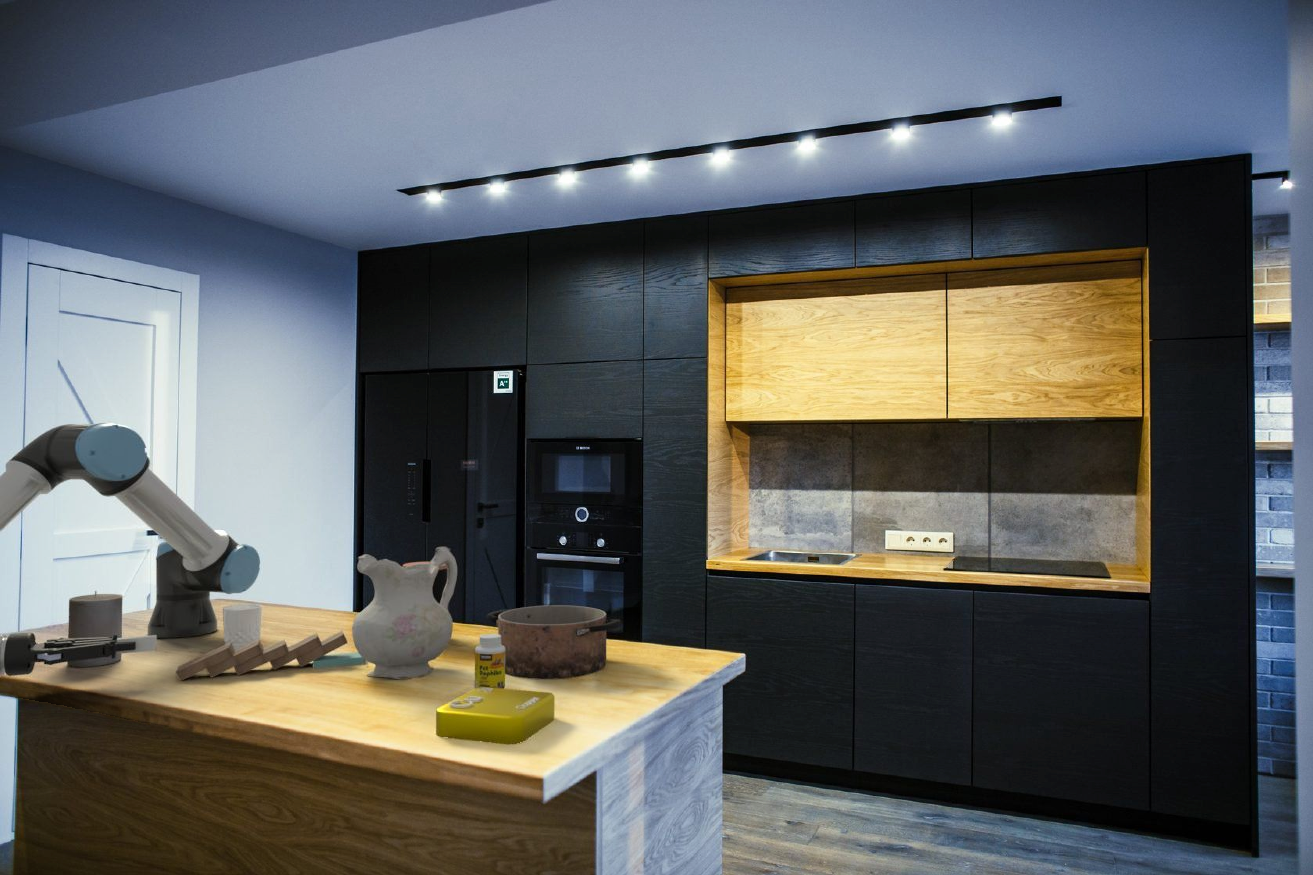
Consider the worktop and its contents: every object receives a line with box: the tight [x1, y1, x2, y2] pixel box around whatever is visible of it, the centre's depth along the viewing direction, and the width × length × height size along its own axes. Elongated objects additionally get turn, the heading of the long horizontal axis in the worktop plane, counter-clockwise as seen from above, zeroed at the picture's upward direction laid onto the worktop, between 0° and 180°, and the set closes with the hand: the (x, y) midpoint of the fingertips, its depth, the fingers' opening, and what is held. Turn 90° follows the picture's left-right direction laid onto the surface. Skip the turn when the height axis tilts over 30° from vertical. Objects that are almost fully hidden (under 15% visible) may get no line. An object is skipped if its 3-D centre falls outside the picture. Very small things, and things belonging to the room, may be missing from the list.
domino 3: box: [233, 639, 289, 676], centre depth 176 cm, size 5×2×10 cm
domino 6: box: [312, 651, 365, 669], centre depth 182 cm, size 5×2×10 cm
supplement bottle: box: [474, 633, 506, 689], centre depth 160 cm, size 6×6×10 cm
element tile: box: [435, 687, 555, 745], centre depth 139 cm, size 15×15×5 cm
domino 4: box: [269, 632, 322, 671], centre depth 180 cm, size 5×2×10 cm
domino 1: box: [175, 642, 235, 682], centre depth 171 cm, size 5×2×10 cm
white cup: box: [222, 603, 263, 650], centre depth 193 cm, size 8×8×10 cm
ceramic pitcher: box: [351, 545, 458, 680], centre depth 176 cm, size 22×20×25 cm
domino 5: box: [296, 630, 348, 668], centre depth 181 cm, size 5×2×10 cm
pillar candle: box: [66, 590, 124, 668], centre depth 183 cm, size 10×10×15 cm
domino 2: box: [206, 638, 264, 678], centre depth 173 cm, size 5×2×10 cm
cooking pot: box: [486, 604, 622, 680], centre depth 180 cm, size 30×22×11 cm
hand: (156, 642), depth 168 cm, fingers closed
